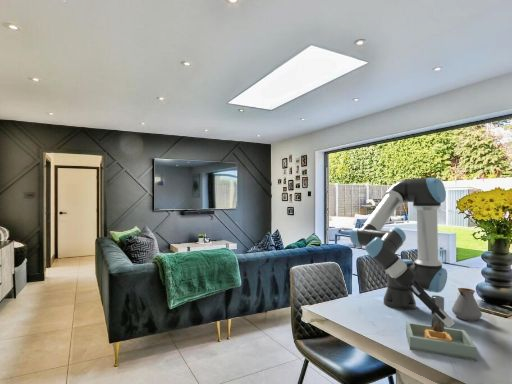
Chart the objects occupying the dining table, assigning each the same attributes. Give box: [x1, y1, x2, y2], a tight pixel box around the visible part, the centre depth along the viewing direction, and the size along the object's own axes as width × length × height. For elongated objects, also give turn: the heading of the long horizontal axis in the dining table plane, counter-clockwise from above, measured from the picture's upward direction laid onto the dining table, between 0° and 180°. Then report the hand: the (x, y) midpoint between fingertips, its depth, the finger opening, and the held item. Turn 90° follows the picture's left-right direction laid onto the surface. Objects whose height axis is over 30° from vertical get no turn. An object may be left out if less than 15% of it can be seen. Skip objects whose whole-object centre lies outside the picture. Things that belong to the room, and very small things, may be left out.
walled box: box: [405, 321, 478, 362], centre depth 113 cm, size 15×20×4 cm
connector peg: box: [430, 295, 445, 332], centre depth 114 cm, size 4×4×12 cm
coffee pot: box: [451, 287, 483, 322], centre depth 139 cm, size 21×12×15 cm, turn 138°
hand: (449, 322), depth 112 cm, fingers closed on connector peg, 4 cm apart
